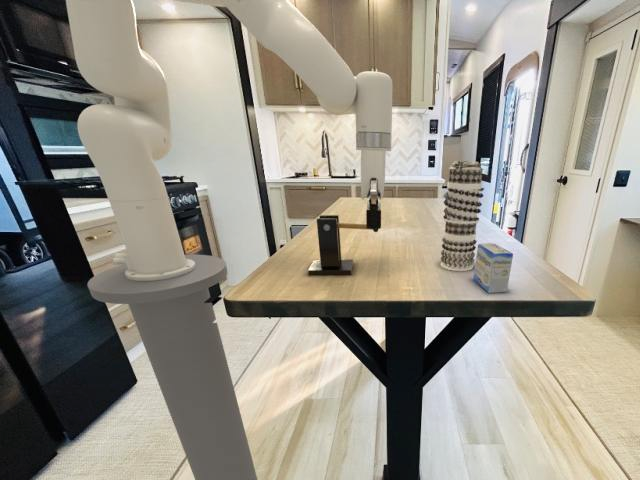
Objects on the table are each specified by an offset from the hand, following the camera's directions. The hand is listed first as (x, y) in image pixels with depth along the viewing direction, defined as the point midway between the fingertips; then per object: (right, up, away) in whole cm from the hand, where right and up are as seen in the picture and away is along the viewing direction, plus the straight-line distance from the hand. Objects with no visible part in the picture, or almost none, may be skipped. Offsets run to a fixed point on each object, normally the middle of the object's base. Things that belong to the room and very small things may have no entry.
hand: (373, 224), depth 75 cm
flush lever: (-6, -2, 0) cm, 6 cm away
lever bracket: (-11, -10, +4) cm, 15 cm away
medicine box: (+26, -15, -4) cm, 30 cm away
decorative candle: (+21, -9, +8) cm, 24 cm away
